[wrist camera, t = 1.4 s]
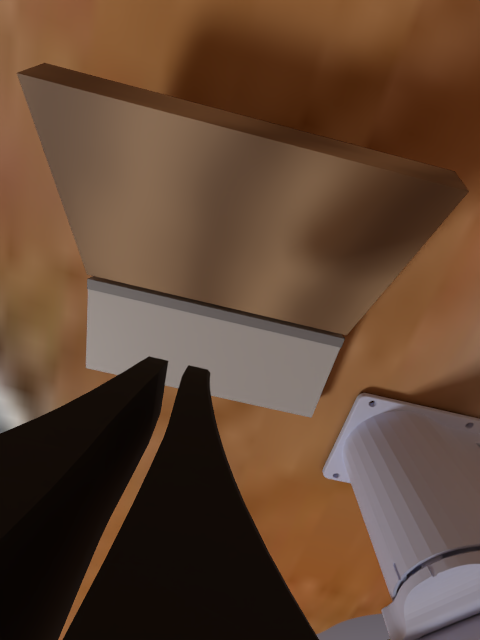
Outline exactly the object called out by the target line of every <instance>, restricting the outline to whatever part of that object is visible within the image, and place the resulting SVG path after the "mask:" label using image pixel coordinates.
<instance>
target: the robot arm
mask: <svg viewBox="0 0 480 640" xmlns="http://www.w3.org/2000/svg"><path fill="white" fill-rule="evenodd" d="M167 367H168V360H163V359H159V358H154V357H150V356H149V357H147V358H145V359H144V360H142V361H140V362H139V363H137V364H135V365H134V366H132V367H130V368H129V369H127V370H126V371H124V372H122V373H121V374H119V375H117V376H116V377H114V378H112V379H111V380H109V381H107V382H106V383H104V384H102V385H100V386H99V387H97V388H95V389H94V390H92V391H90V392H88V393H86V394H84V395H82V396H80V397H79V398H77V399H75V400H73V401H71V402H69V403H67V404H65V405H63V406H61V407H59V408H57V409H55V410H53V411H51V412H49V413H47V414H45V415H42V416H40V417H38V418H36V419H34V420H31V421H29V422H27V423H24V424H22V425H20V426H17V427H15V428H13V429H10V430H8V431H5V432H3V433H1V434H0V640H58V639H59V636H60V634H61V631H62V629H63V626H64V624H65V622H66V619H67V617H68V614H69V612H70V609H71V607H72V605H73V602H74V600H75V597H76V595H77V592H78V590H79V588H80V585H81V583H82V580H83V578H84V576H85V573H86V571H87V569H88V566H89V564H90V561H91V559H92V557H93V554H94V552H95V550H96V547H97V545H98V543H99V540H100V538H101V536H102V534H103V532H104V530H105V527H106V525H107V523H108V521H109V519H110V517H111V515H112V513H113V511H114V509H115V507H116V506H117V504H118V502H119V500H120V498H121V496H122V494H123V492H124V490H125V488H126V486H127V484H128V482H129V481H130V479H131V477H132V475H133V473H134V471H135V469H136V467H137V465H138V463H139V461H140V459H141V457H142V455H143V453H144V452H145V450H146V448H147V446H148V444H149V441H150V439H151V436H152V434H153V431H154V428H155V426H156V423H157V421H158V418H159V415H160V412H161V406H162V399H163V393H164V386H165V380H166V374H167ZM210 374H211V373H210V372H209V370H208V369H203V368H199V367H194V366H190V365H188V367H187V368H186V370H185V372H184V373H183V375H182V378H181V381H180V385H179V388H178V392H177V395H176V399H175V403H174V406H173V410H172V413H171V417H170V420H169V424H168V427H167V430H166V432H165V435H164V438H163V440H162V442H161V444H160V447H159V449H158V451H157V453H156V456H155V458H154V460H153V462H152V464H151V467H150V469H149V471H148V473H147V475H146V477H145V479H144V481H143V483H142V486H141V488H140V490H139V492H138V494H137V496H136V498H135V500H134V502H133V505H132V507H131V509H130V511H129V513H128V515H127V517H126V519H125V521H124V523H123V525H122V527H121V529H120V531H119V533H118V535H117V537H116V539H115V541H114V543H113V545H112V547H111V549H110V550H109V552H108V554H107V556H106V558H105V560H104V562H103V564H102V566H101V568H100V570H99V572H98V574H97V576H96V578H95V579H94V581H93V583H92V585H91V587H90V589H89V591H88V593H87V595H86V596H85V598H84V600H83V602H82V604H81V606H80V608H79V610H78V612H77V614H76V615H75V617H74V619H73V621H72V623H71V625H70V627H69V629H68V631H67V632H66V634H65V636H64V638H63V640H319V639H318V637H317V635H316V634H315V632H314V631H313V629H312V627H311V626H310V624H309V622H308V621H307V619H306V617H305V616H304V614H303V612H302V610H301V609H300V607H299V605H298V604H297V602H296V600H295V599H294V597H293V595H292V594H291V592H290V590H289V588H288V586H287V585H286V583H285V581H284V579H283V577H282V576H281V574H280V572H279V570H278V568H277V566H276V565H275V563H274V561H273V559H272V557H271V556H270V554H269V552H268V550H267V548H266V546H265V544H264V542H263V540H262V538H261V536H260V534H259V532H258V530H257V528H256V526H255V523H254V521H253V519H252V517H251V515H250V513H249V511H248V509H247V507H246V505H245V503H244V501H243V498H242V496H241V494H240V491H239V489H238V486H237V484H236V482H235V479H234V477H233V474H232V471H231V469H230V466H229V463H228V461H227V458H226V455H225V452H224V449H223V446H222V442H221V439H220V435H219V432H218V428H217V424H216V420H215V415H214V410H213V406H212V400H211V392H210ZM370 401H374V402H373V403H369V402H370ZM467 423H468V424H467ZM335 473H336V474H335ZM323 475H324V476H325V477H326V478H329V479H333V480H338V481H343V482H348V483H351V485H352V487H353V490H354V493H355V496H356V499H357V502H358V505H359V507H360V510H361V513H362V516H363V519H364V522H365V524H366V527H367V530H368V533H369V536H370V539H371V542H372V544H373V547H374V550H375V553H376V556H377V559H378V561H379V564H380V567H381V570H382V573H383V576H384V578H385V581H386V584H387V587H388V590H389V593H390V596H391V598H392V601H393V602H392V603H391V604H389V605H388V606H386V607H384V608H383V609H382V610H381V611H382V614H383V617H384V620H385V624H386V627H387V630H388V633H389V636H390V639H388V640H480V419H479V418H474V417H470V416H465V415H461V414H457V413H452V412H448V411H443V410H439V409H434V408H430V407H426V406H421V405H417V404H412V403H408V402H404V401H399V400H395V399H390V398H386V397H381V396H377V395H373V394H368V393H362V394H360V395H358V397H357V398H356V400H355V402H354V405H353V407H352V409H351V411H350V413H349V415H348V417H347V419H346V421H345V423H344V426H343V428H342V430H341V432H340V434H339V436H338V438H337V440H336V442H335V445H334V447H333V449H332V451H331V453H330V455H329V457H328V459H327V461H326V463H325V466H324V468H323Z"/></svg>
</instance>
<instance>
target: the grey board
mask: <svg viewBox="0 0 480 640" xmlns="http://www.w3.org/2000/svg"><path fill="white" fill-rule="evenodd" d="M87 289H88V313H87V349H86V368H89V369H93V370H98V371H102V372H107V373H111V374H116V375H119V374H121V373H122V372H124V371H126V370H127V369H129V368H130V367H132V366H134V365H135V364H137V363H139V362H140V361H142V360H144V359H145V358H147V357H149V356H150V357H154V358H159V359H163V360H168V367H167V374H166V380H165V385H166V386H170V387H175V388H179V385H180V381H181V378H182V375H183V373H184V372H185V370H186V368H187V367H188V365H190V366H194V367H199V368H203V369H208V370H209V372H210V373H211V374H210V392H211V396H216V397H220V398H225V399H229V400H234V401H238V402H243V403H248V404H252V405H257V406H261V407H266V408H270V409H275V410H279V411H284V412H288V413H293V414H297V415H302V416H307V417H312V415H313V412H314V410H315V408H316V405H317V403H318V400H319V398H320V396H321V393H322V391H323V388H324V386H325V383H326V381H327V379H328V376H329V374H330V371H331V369H332V367H333V364H334V362H335V359H336V357H337V354H338V352H339V350H340V348H341V347H342V344H343V342H344V340H345V339H344V337H343V336H342V334H339V333H334V332H330V331H326V330H322V329H317V328H313V327H309V326H305V325H300V324H296V323H292V322H288V321H283V320H279V319H275V318H270V317H266V316H262V315H258V314H253V313H249V312H245V311H241V310H236V309H232V308H228V307H224V306H219V305H215V304H211V303H207V302H202V301H198V300H194V299H189V298H185V297H181V296H177V295H172V294H168V293H164V292H160V291H155V290H151V289H147V288H143V287H138V286H134V285H130V284H125V283H121V282H117V281H113V280H108V279H104V278H100V277H96V276H93V277H91V278H88V279H87Z"/></svg>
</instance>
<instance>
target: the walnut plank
mask: <svg viewBox="0 0 480 640" xmlns="http://www.w3.org/2000/svg"><path fill="white" fill-rule="evenodd" d="M17 75H18V78H19V81H20V84H21V87H22V90H23V92H24V95H25V98H26V101H27V104H28V107H29V110H30V112H31V115H32V118H33V121H34V124H35V127H36V130H37V133H38V135H39V138H40V141H41V144H42V147H43V150H44V153H45V155H46V158H47V161H48V164H49V167H50V170H51V173H52V175H53V178H54V181H55V184H56V187H57V190H58V193H59V195H60V198H61V201H62V204H63V207H64V210H65V213H66V215H67V218H68V221H69V224H70V227H71V230H72V233H73V235H74V238H75V241H76V244H77V247H78V250H79V253H80V256H81V258H82V261H83V264H84V267H85V270H86V273H87V275H91V276H96V277H100V278H104V279H108V280H113V281H117V282H121V283H125V284H130V285H134V286H138V287H143V288H147V289H151V290H155V291H160V292H164V293H168V294H172V295H177V296H181V297H185V298H189V299H194V300H198V301H202V302H207V303H211V304H215V305H219V306H224V307H228V308H232V309H236V310H241V311H245V312H249V313H253V314H258V315H262V316H266V317H270V318H275V319H279V320H283V321H288V322H292V323H296V324H300V325H305V326H309V327H313V328H317V329H322V330H326V331H330V332H334V333H339V334H343V335H347V334H348V333H349V332H350V331H351V330H352V328H353V327H354V326H355V325H356V324H357V323H358V321H359V320H360V319H361V318H362V317H363V316H364V314H365V313H366V312H367V311H368V310H369V308H370V307H371V306H372V305H373V304H374V303H375V301H376V300H377V299H378V298H379V297H380V295H381V294H382V293H383V292H384V291H385V290H386V288H387V287H388V286H389V285H390V284H391V283H392V281H393V280H394V279H395V278H396V277H397V275H398V274H399V273H400V272H401V271H402V270H403V268H404V267H405V266H406V265H407V264H408V263H409V261H410V260H411V259H412V258H413V257H414V255H415V254H416V253H417V252H418V251H419V250H420V248H421V247H422V246H423V245H424V244H425V243H426V241H427V240H428V239H429V238H430V237H431V235H432V234H433V233H434V232H435V231H436V230H437V228H438V227H439V226H440V225H441V224H442V222H443V221H444V220H445V219H446V218H447V217H448V215H449V214H450V213H451V212H452V211H453V210H454V208H455V207H456V206H457V205H458V204H459V202H460V201H461V200H462V199H463V198H464V197H465V195H466V194H467V193H468V192H469V191H468V190H467V188H466V187H465V185H464V184H463V182H462V181H461V180H460V178H459V177H458V175H457V174H456V173H455V171H451V170H447V169H444V168H440V167H436V166H432V165H428V164H425V163H421V162H417V161H413V160H410V159H406V158H402V157H398V156H394V155H391V154H387V153H383V152H379V151H376V150H372V149H368V148H364V147H360V146H357V145H353V144H349V143H345V142H342V141H338V140H334V139H330V138H326V137H323V136H319V135H315V134H311V133H308V132H304V131H300V130H296V129H292V128H289V127H285V126H281V125H277V124H274V123H270V122H266V121H262V120H258V119H255V118H251V117H247V116H243V115H239V114H236V113H232V112H228V111H224V110H221V109H217V108H213V107H209V106H205V105H202V104H198V103H194V102H190V101H187V100H183V99H179V98H175V97H171V96H168V95H164V94H160V93H156V92H153V91H149V90H145V89H141V88H137V87H134V86H130V85H126V84H122V83H119V82H115V81H111V80H107V79H103V78H100V77H96V76H92V75H88V74H84V73H81V72H77V71H73V70H69V69H66V68H62V67H58V66H54V65H50V64H47V63H43V64H40V65H38V66H35V67H32V68H29V69H26V70H24V71H21V72H18V73H17Z"/></svg>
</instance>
